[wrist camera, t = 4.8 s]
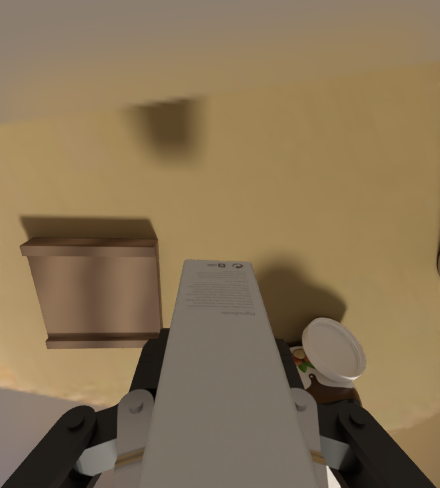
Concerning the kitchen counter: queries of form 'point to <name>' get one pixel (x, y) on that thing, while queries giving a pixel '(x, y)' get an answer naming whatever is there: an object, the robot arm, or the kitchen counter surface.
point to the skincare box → (223, 392)
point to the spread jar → (329, 366)
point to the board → (97, 291)
